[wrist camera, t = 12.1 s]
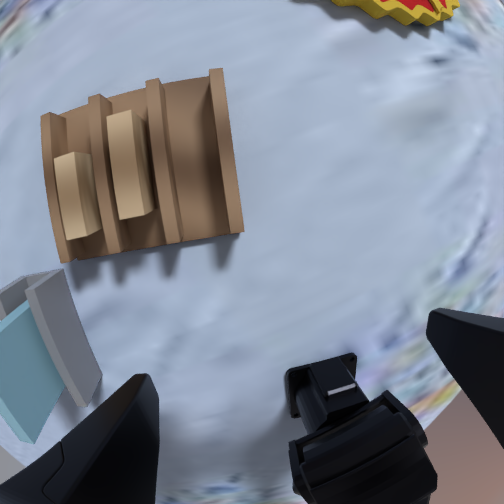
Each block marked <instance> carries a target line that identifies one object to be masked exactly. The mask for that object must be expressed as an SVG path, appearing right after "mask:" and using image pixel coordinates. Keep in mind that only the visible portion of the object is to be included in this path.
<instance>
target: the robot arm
mask: <svg viewBox="0 0 504 504" xmlns="http://www.w3.org/2000/svg"><path fill="white" fill-rule="evenodd" d="M426 336H427V339H428V340H429V342H430V343H431V345H432V346H433V348H434V350H435V351H436V353H437V354H438V356H439V357H440V359H441V361H442V362H443V364H444V365H445V367H446V368H447V370H448V371H449V372H450V374H451V375H452V376H453V378H454V379H455V380H456V382H457V383H458V384H459V386H460V387H461V388H462V390H463V391H464V392H465V394H466V395H467V396H468V398H469V399H470V400H471V402H472V403H473V404H474V406H475V407H476V408H477V410H478V412H479V413H480V414H481V416H482V417H483V419H484V420H485V422H486V423H487V425H488V426H489V428H490V429H491V430H492V432H493V433H494V435H495V437H496V438H497V440H498V441H499V443H500V444H501V446H502V447H503V449H504V318H499V317H492V316H486V315H480V314H474V313H468V312H462V311H456V310H450V309H445V308H437V309H435V310H432V311H431V312H430V313H429V316H428V323H427V329H426ZM350 358H352V359H350ZM356 364H357V356H356V355H355V354H354V353H348V354H345V355H341V356H338V357H334V358H330V359H327V360H323V361H319V362H315V363H311V364H307V365H303V366H298V367H294V368H291V369H289V370H288V371H287V380H288V392H289V405H290V414H291V417H292V418H299V417H301V418H302V420H303V423H304V425H305V428H306V430H307V433H308V435H307V436H304V437H302V438H300V439H298V440H293V441H291V442H289V449H290V450H289V458H290V464H291V471H292V478H293V486H292V488H293V491H294V493H295V494H298V495H301V496H302V497H303V498H304V499H305V501H306V502H307V503H308V504H429V500H430V495H431V493H433V492H434V491H435V490H436V489H437V473H436V471H435V470H434V468H433V465H432V463H431V462H430V460H429V458H428V456H427V454H426V452H425V450H424V448H425V447H426V446H427V445H428V441H427V437H426V435H425V432H424V430H423V428H422V426H421V425H420V423H419V422H418V420H417V419H416V417H415V416H414V415H413V414H412V413H411V411H410V410H408V409H407V408H406V407H405V406H404V405H403V404H402V403H401V402H400V401H399V400H398V399H397V398H396V397H394V396H393V395H392V394H391V393H390V392H389V391H388V390H386V391H384V392H383V393H381V395H380V396H378V397H377V398H375V399H374V400H372V401H369V400H368V398H367V397H366V396H365V394H364V393H363V391H362V390H361V388H360V387H359V385H358V384H357V382H356V381H355V375H356ZM292 373H294V374H292ZM159 444H160V436H159V397H158V393H157V391H156V389H155V386H154V384H153V382H152V379H151V377H150V375H149V374H147V373H143V374H135V375H133V376H132V377H131V378H130V379H129V380H128V381H127V382H126V383H124V384H123V385H122V386H121V387H120V388H119V389H118V390H117V391H116V392H114V393H113V394H112V395H111V396H110V397H109V398H108V399H107V400H105V401H104V402H103V403H102V404H101V405H100V406H99V407H98V408H96V409H95V410H94V411H93V412H92V413H91V414H90V415H89V416H87V417H86V418H85V419H84V420H83V421H82V422H81V423H79V424H78V425H77V426H76V427H75V428H74V429H73V430H71V431H70V432H69V433H68V434H67V435H66V436H65V437H63V438H62V439H61V441H59V442H58V443H57V444H55V445H54V446H53V447H52V448H51V449H50V450H48V451H47V452H46V453H45V454H43V455H42V456H41V457H40V458H38V459H37V460H36V461H34V462H33V463H32V464H30V465H29V466H27V467H26V468H25V469H23V470H22V471H20V472H19V473H17V474H16V475H14V476H13V477H11V478H10V479H8V480H7V481H5V482H4V483H2V484H1V485H0V504H155V495H156V480H157V467H158V456H159Z"/></svg>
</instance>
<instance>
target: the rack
mask: <svg viewBox="0 0 504 504" xmlns="http://www.w3.org/2000/svg"><path fill="white" fill-rule="evenodd" d="M128 110H132V111H133V112H134V113H136V114H137V115H138V116H139V117H140V118H141V119H143V120H144V121H145V127H146V136H147V145H148V154H149V161H150V169H151V176H152V183H153V189H154V196H155V202H156V208H157V209H155V210H153V211H151V212H149V213H147V214H145V215H142V216H137V217H132V218H127V219H122V220H120V218H119V213H118V207H117V202H116V195H115V189H114V182H113V175H112V168H111V160H110V151H109V141H108V130H107V117H106V116H110V115H113V114H117V113H120V112H124V111H128ZM41 143H42V158H43V168H44V178H45V186H46V193H47V200H48V206H49V212H50V217H51V222H52V227H53V232H54V237H55V241H56V246H57V250H58V254H59V258H60V262H61V263H66V262H71V261H72V260H74V259H75V258H77V259H78V260H83V259H89V258H94V257H99V256H105V255H110V254H116V253H121V252H127V251H132V250H138V249H144V248H149V247H155V246H161V245H167V244H173V243H179V242H184V241H190V240H197V239H203V238H209V237H215V236H221V235H227V234H234V233H240V232H245V231H244V224H243V217H242V209H241V202H240V195H239V187H238V180H237V173H236V165H235V158H234V151H233V143H232V136H231V128H230V121H229V113H228V106H227V98H226V90H225V83H224V75H223V68H217V69H209V76H207V77H200V78H193V79H187V80H181V81H176V82H170V83H165V84H161V82H160V80H159V78H156V79H152V80H147V81H146V88H143V89H138V90H134V91H130V92H127V93H123V94H119V95H116V96H112V97H109V98H105V97H103V96H102V95H101V94H97V95H94V96H91V97H88V104H87V105H84V106H81V107H78V108H76V109H73V110H70V111H68V112H65V113H62V114H60V115H56V114H54V113H51V112H49V113H46V114H44V115H42V116H41ZM71 152H79V153H85V154H91V155H92V160H93V168H94V176H95V183H96V190H97V196H98V202H99V208H100V214H101V219H102V224H103V228H102V229H100V230H98V231H96V232H94V233H92V234H90V235H88V236H84V237H80V238H75V239H71V240H67V239H66V234H65V229H64V225H63V219H62V214H61V208H60V202H59V196H58V189H57V182H56V174H55V165H54V158H57V157H60V156H63V155H66V154H68V153H71Z"/></svg>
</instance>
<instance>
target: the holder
mask: <svg viewBox="0 0 504 504" xmlns="http://www.w3.org/2000/svg"><path fill="white" fill-rule="evenodd" d="M26 300H28V303H29V306H30V308H31V311H32V314H33V316H34V319H35V322H36V324H37V327H38V329H39V332H40V334H41V336H42V339H43V341H44V343H45V345H46V348H47V350H48V352H49V354H50V356H51V358H52V360H53V362H54V364H55V366H56V368H57V370H58V372H59V374H60V376H61V378H62V380H63V382H64V384H65V385H66V387H67V389H68V391H69V393H70V394H71V396H72V398H73V399H74V401H75V403H76V404H77V406H78V407H88V405H89V403H90V400H91V398H92V396H93V394H94V391H95V389H96V387H97V385H98V383H99V381H100V378H101V376H102V372H101V370H100V368H99V366H98V364H97V361H96V359H95V357H94V355H93V352H92V350H91V348H90V345H89V343H88V340H87V338H86V335H85V333H84V330H83V328H82V325H81V322H80V320H79V317H78V314H77V311H76V308H75V306H74V303H73V300H72V297H71V293H70V290H69V287H68V284H67V280H66V277H65V273H64V270H63V269H58V270H53V271H48V272H42V273H37V274H32V275H27V276H22V277H20V278H18V279H17V280H15V281H13V282H12V283H10V284H9V285H7V286H6V287H4V288H2V289H1V290H0V320H1V321H2V320H3V319H4V318H5V317H6V316H8V315H9V314H10V313H11V312H12V311H14V310H15V309H16V308H17V307H19V306H20V305H21V304H22V303H24V302H25V301H26Z"/></svg>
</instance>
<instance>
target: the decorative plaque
mask: <svg viewBox="0 0 504 504" xmlns="http://www.w3.org/2000/svg"><path fill="white" fill-rule="evenodd" d="M331 1H332V2H333V3H334V4H336V5H337V6H340V7H341V6H352V5H355V6H358V7H360V8H361V9H362V10H364V11H365V12H366V13H368V14H369V15H370V16H371V17H373V18H375V19H379V18H381V17H383V16H386V15H389V16H391V17H393V18H394V19H396V20H397V21H399V22H400V23H401V24H403V25H405V26H407V25H409V24H410V23H412V22H414V21H415V20H417V21H419V22H420V23H422V24H424V25H426V26H429V25H431V24H433V23H435V22H437V21H439V20H440V21H444V20H446V19H448V18H450V17H452V16H453V11H452V10H454V9H456V8H458V7H460V4H459V2H458V0H331ZM434 9H435V11H434Z"/></svg>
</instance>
